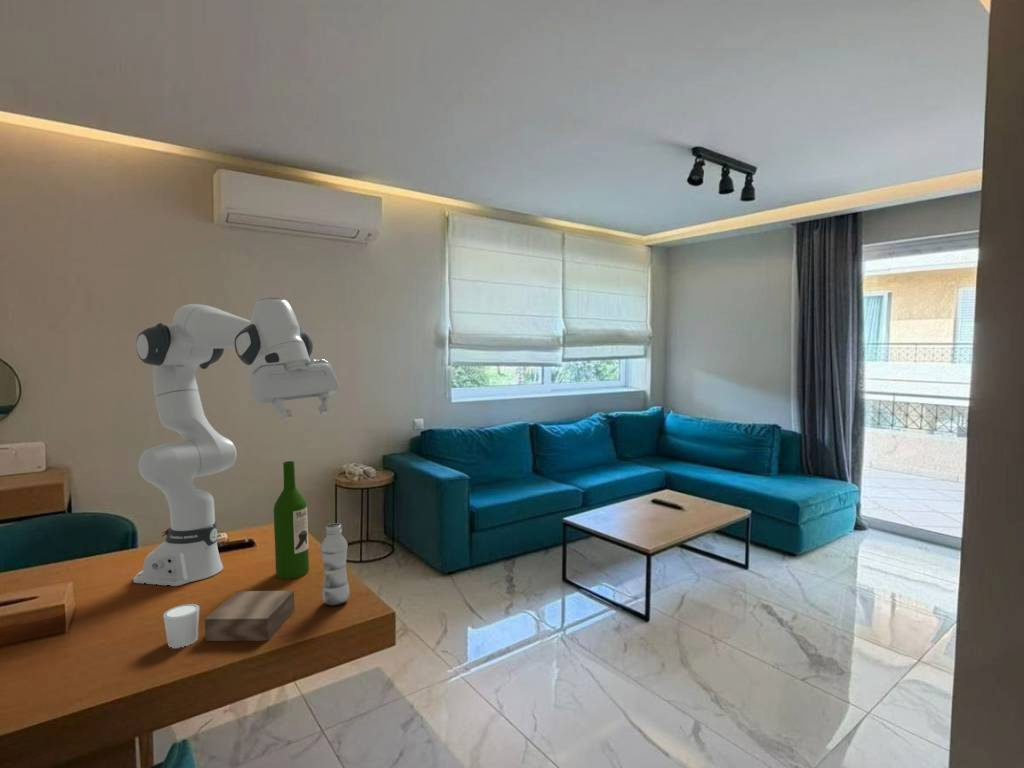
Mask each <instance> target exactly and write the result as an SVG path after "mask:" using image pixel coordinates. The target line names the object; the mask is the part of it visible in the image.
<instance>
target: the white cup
mask: <svg viewBox="0 0 1024 768" xmlns="http://www.w3.org/2000/svg"><path fill="white" fill-rule="evenodd" d="M199 620H200V605H198V604H194V603H188V604H182V605H178V606H175V607H172V608H170V609H168V610H166V611H165V612H164V613H163V621H164V622H163V623H164V629H165V635H166V642H167V645H168V646H169V647H168V648H170V647H172V648H171V649H181V648H180V647H182V648H185V647H184V646H186V647H188V646H190V644H191V645H193V644H194V643H195V642H197V640H198V638H199V622H200V621H199Z"/></svg>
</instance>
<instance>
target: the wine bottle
mask: <svg viewBox="0 0 1024 768" xmlns="http://www.w3.org/2000/svg"><path fill="white" fill-rule="evenodd" d="M282 465H283V490H282V491H281V492H280V494H279V496H278V498H277V500H276V501H275V502H274V505H273V506H274V507H273V527H274V528H273V530H274V551H275V552H274V555H275V558H274V559H275V575H276V577H277V579H280V580H294V579H293V578H295V579H298V578H297V577H299V578H301V577H300V576H302V577H304V576H306V575H307V574H309V572H308V571H310V554H309V529H308V527H309V526H308V525H309V524H308V523H309V522H308V505H307V501H306V500H305V498H304V497H303V495H302V494H301V493H300V491H299V490H298V488H297V486H296V471H295V461H292V460H291V461H290V460H289V461H284V462H283V463H282ZM306 573H307V574H306ZM305 574H306V575H305ZM303 575H304V576H303Z"/></svg>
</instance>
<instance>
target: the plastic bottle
mask: <svg viewBox="0 0 1024 768" xmlns="http://www.w3.org/2000/svg"><path fill="white" fill-rule="evenodd" d="M342 532H343V531H342V523H339V522H338V523H337V522H335V523H333V522H332V523H329V524H327V525H326V526H325V535H326V536H325V538H324V539H323V540H322V542H321V544H320V554H321V559H322V565H323V585H322V601H323V602H324V604H326V605H329V606H338V605H341V604H343V603H345V602H347V601H348V599H349V597H350V585H349V582H348V576H347V554H348V553H347V552H348V541H347V539H346V538H345V537H344V536H343V535H342V534H341V533H342Z"/></svg>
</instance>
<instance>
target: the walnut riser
mask: <svg viewBox="0 0 1024 768" xmlns="http://www.w3.org/2000/svg"><path fill="white" fill-rule="evenodd" d="M294 612H295V590H250V591H249V590H241V591H240V590H239V591H238V590H236V592H235V593H233V595H231V596H230V597H229V598H228V599H226V600H225V601H224V602H223V603H222V604H221V605H219V606H218V607H216V609H215V610H213V611H212V612H211V613H210V614H209V615H208V616H206V618H204V635H205V639H204V640H205V642H236V641H237V642H238V641H239V642H240V641H243V642H247V641H248V642H249V641H255V642H256V641H262V642H264V641H270V640H271V639H272V637H273V636H274V635H275V634H276V633H277V631H278V630H279V629H280V628H281V626H282V625H283V624H284V623H285V622H286V621H287V620H288V619H289V618H290V616H292V615H293V613H294Z"/></svg>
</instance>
